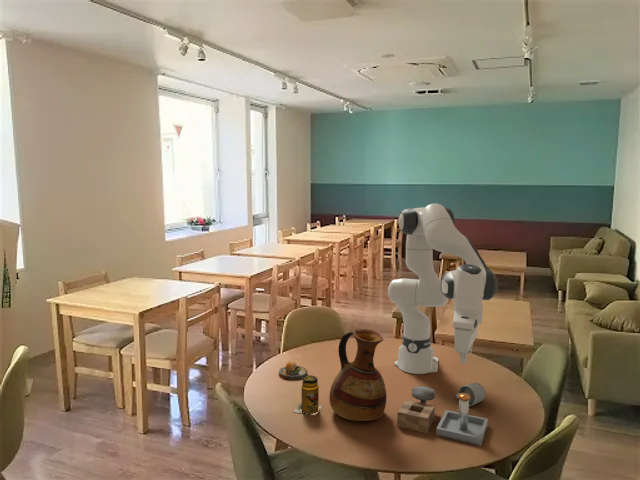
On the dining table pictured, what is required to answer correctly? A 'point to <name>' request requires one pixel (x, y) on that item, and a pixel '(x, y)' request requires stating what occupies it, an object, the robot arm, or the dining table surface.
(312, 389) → the condiment
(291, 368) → the burger
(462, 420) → the pin
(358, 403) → the ceramic pitcher
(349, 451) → the dining table surface
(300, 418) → the dining table surface
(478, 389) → the ceramic mug
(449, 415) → the tray
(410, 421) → the block
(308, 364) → the dining table surface
